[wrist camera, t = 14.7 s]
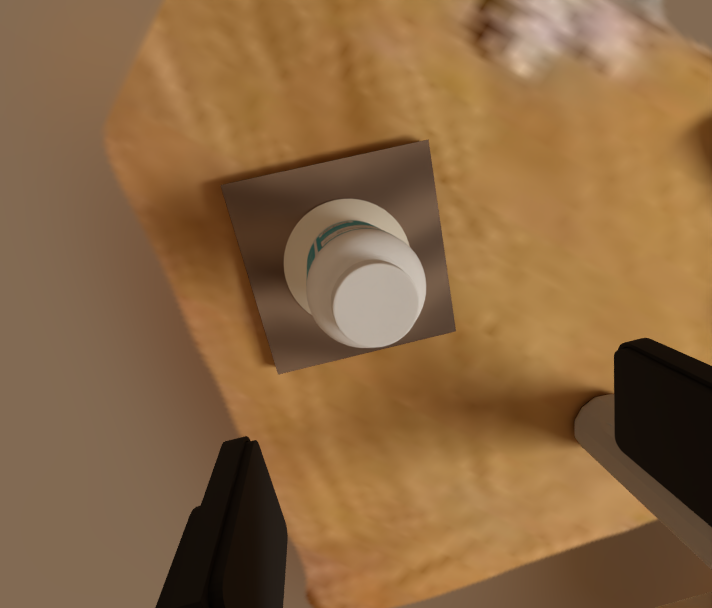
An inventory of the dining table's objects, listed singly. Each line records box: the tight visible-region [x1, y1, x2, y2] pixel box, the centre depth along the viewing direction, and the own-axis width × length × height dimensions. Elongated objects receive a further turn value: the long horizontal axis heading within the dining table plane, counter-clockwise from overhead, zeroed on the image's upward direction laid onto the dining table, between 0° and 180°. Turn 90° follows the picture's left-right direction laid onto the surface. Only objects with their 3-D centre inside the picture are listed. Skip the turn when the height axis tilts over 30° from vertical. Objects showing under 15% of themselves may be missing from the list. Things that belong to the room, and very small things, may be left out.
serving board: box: [221, 140, 456, 374], centre depth 34 cm, size 17×17×2 cm
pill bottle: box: [306, 220, 426, 348], centre depth 27 cm, size 8×7×14 cm
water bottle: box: [575, 394, 712, 569], centre depth 31 cm, size 9×8×25 cm
